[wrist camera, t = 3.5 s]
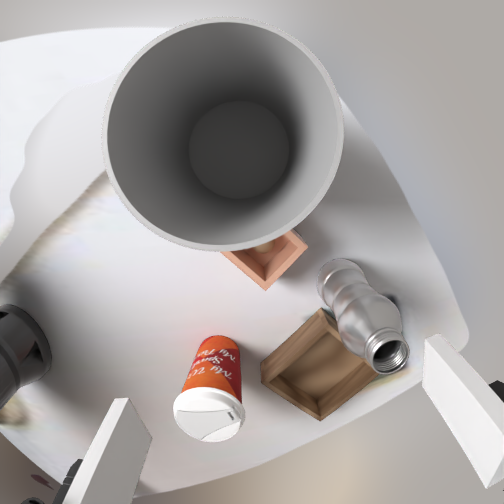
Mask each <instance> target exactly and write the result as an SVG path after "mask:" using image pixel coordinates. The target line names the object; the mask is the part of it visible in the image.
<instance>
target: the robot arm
mask: <svg viewBox="0 0 504 504" xmlns="http://www.w3.org/2000/svg"><path fill="white" fill-rule="evenodd" d="M50 365H51V352H50V348H49V345H48V342H47V340H46V338H45V336H44V334H43V332H42V330H41V329H40V327H39V326H38V325H37V323H36V322H35V321H34V320H33V319H32V318H31V317H30V316H29V315H28V314H27V313H26V312H25V311H23V310H22V309H20V308H18V307H16V306H13V305H2V306H0V410H1V409H2V408H3V407H4V405H5V404H6V403H7V402H8V401H9V400H10V398H11V397H12V396H13V395H14V394H15V392H16V391H17V390H18V389H19V388H21V387H23V386H25V385H27V384H30V383H32V382H34V381H37V380H39V379H40V378H41V377H43V375H44V374H45V373H46V372H47V371H48V369H49V368H50ZM422 387H423V388H424V390H425V391H426V393H427V394H428V396H429V397H430V399H431V400H432V402H433V403H434V405H435V406H436V408H437V409H438V411H439V412H440V414H441V415H442V417H443V419H444V420H445V422H446V423H447V425H448V426H449V428H450V430H451V431H452V433H453V434H454V436H455V438H456V439H457V441H458V442H459V444H460V446H461V447H462V449H463V451H464V452H465V454H466V455H467V457H468V459H469V460H470V462H471V464H472V465H473V467H474V469H475V471H476V472H477V474H478V476H479V477H480V479H481V481H482V482H483V484H484V486H485V488H486V489H487V488H489V487H490V486H492V485H494V484H495V483H497V482H499V481H500V480H502V479H503V478H504V383H502V382H500V381H498V380H497V381H495V382H493V383H491V384H489V385H488V384H487V383H486V382H485V381H484V380H483V379H482V378H481V377H480V375H479V374H478V373H477V372H476V371H475V370H474V369H473V368H472V367H471V366H470V365H469V364H468V363H467V361H466V360H465V359H464V358H463V357H462V356H461V355H460V354H459V353H458V352H457V351H456V350H455V349H454V348H453V346H452V345H451V344H450V343H449V342H448V341H447V340H446V339H445V338H444V337H443V336H442V335H441V334H440V333H439V334H436V335H434V336H431V337H428V338H425V350H424V369H423V382H422ZM151 440H152V437H151V435H150V434H149V432H148V430H147V429H146V427H145V425H144V424H143V422H142V420H141V419H140V417H139V415H138V413H137V412H136V410H135V408H134V406H133V404H132V403H131V401H130V399H129V398H115V399H114V401H113V403H112V405H111V407H110V409H109V411H108V412H107V414H106V416H105V418H104V420H103V422H102V424H101V426H100V428H99V430H98V432H97V434H96V436H95V438H94V440H93V441H92V443H91V445H90V447H89V449H88V451H87V453H86V455H85V457H84V459H78V460H77V461H76V462H75V463H74V464H73V465H72V466H71V467H70V469H69V471H68V473H67V475H66V476H67V477H66V478H65V479H64V481H63V485H61V487H60V489H59V491H58V493H57V495H56V497H55V499H54V501H53V504H131V502H132V499H133V496H134V493H135V490H136V487H137V483H138V480H139V477H140V474H141V471H142V468H143V465H144V462H145V458H146V455H147V452H148V449H149V446H150V443H151ZM503 491H504V490H503ZM21 504H44V503H43V502H42V501H41V500H40V499H38V498H28V499H26V500H25V501H23V502H22V503H21Z"/></svg>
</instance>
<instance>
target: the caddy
mask: <svg viewBox="0 0 504 504" xmlns="http://www.w3.org/2000/svg"><path fill="white" fill-rule="evenodd" d="M378 375H379V373H377V372H376V371H375V370H374V369H373V368H372V367H371V365H370V364H369V362H368V361H367V360H366V358H361V357H358V356H356V355H354V354H353V353H351V352H350V351H348V350H347V349H346V348H345V346H344V345H343V343H342V341H341V338H340V335H339V331H338V325H337V321H336V320H335V319H333V318H332V317H331V316H330V315H329V314H328V313H327V312H325V311H324V310H323V309H322V308H320V309H319V310H318V311H317V312H316V313H315V314H314V315H313V316H312V317H310V318H309V319H308V320H307V321H306V322H305V323H304V324H303V325H302V326H301V327H300V328H299V329H298V330H297V331H296V332H294V333H293V334H292V335H291V336H290V337H289V338H288V339H287V340H286V341H285V342H284V343H282V344H281V345H280V346H279V347H278V348H277V349H276V350H275V351H274V352H272V353H271V354H270V355H269V356H268V357H267V358H266V359H265V360H263V361H262V362H261V383H262V384H263V385H265V386H266V387H268V388H269V389H271V390H272V391H274V392H275V393H277V394H278V395H280V396H281V397H283V398H284V399H286V400H287V401H289V402H290V403H292V404H293V405H295V406H297V407H298V408H300V409H301V410H303V411H304V412H306V413H308V414H309V415H311V416H312V417H314V418H316V419H317V420H319V421H321V420H323V419H324V418H326V417H327V416H328V415H330V414H331V413H332V412H334V411H335V410H336V409H337V408H339V407H340V406H341V405H343V404H344V403H345V402H346V401H348V400H349V399H350V398H351V397H353V396H354V395H355V394H356V393H358V392H359V391H360V390H361V389H362V388H364V387H365V386H366V385H367V384H368V383H370V382H371V381H372V380H373V379H374V378H375V377H377V376H378Z"/></svg>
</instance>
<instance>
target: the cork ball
mask: <svg viewBox="0 0 504 504" xmlns="http://www.w3.org/2000/svg"><path fill="white" fill-rule="evenodd" d="M274 245H275V239H273V240H271V241H269V242H266V243H264V244H261V245H258V246H255V247H252V248H253V249H254V250H255V251H256V252H258V253H262V254H264V253H268V252H270V251H271V250H272V249H273V247H274Z"/></svg>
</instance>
